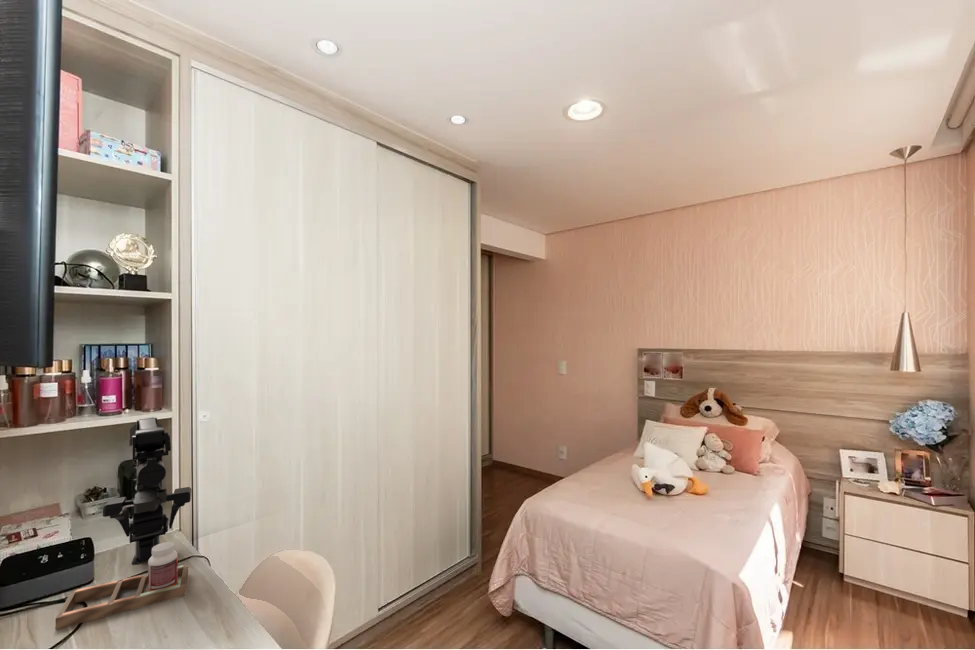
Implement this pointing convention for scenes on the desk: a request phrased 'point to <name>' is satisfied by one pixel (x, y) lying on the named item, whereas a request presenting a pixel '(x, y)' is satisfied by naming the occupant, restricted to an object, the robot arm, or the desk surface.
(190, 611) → the desk surface
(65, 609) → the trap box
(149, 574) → the pill bottle
